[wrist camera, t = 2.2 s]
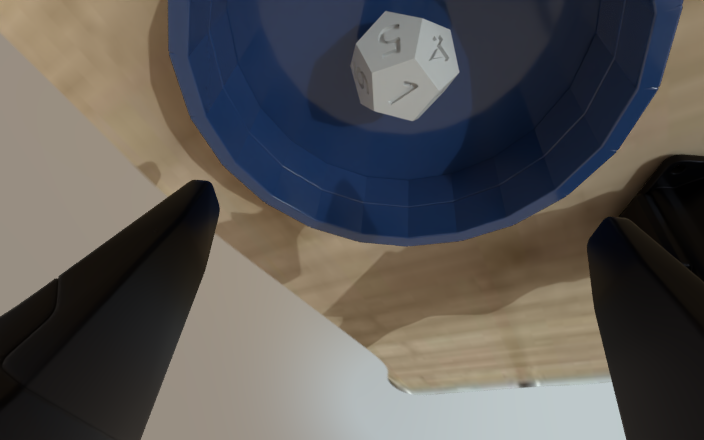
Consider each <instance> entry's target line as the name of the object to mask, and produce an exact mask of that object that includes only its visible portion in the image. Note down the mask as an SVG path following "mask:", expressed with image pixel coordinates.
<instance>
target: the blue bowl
mask: <svg viewBox="0 0 704 440" xmlns="http://www.w3.org/2000/svg"><path fill="white" fill-rule="evenodd" d="M682 4H683V0H168V51H169V56H170V59H171V62H172V65H173V68H174V71H175V74H176V77H177V80H178V83H179V86H180V89H181V92H182V95H183V98H184V101H185V104H186V107H187V110H188V113H189V115H190V118H191V120H192V121H193V123H194V124H195V126H196V127H197V129H198V130H199V131H200V133H201V134H202V136H203V137H204V139H205V140H206V142H207V143H208V145H209V146H210V148H211V149H212V150H213V152H214V153H215V155H216V156H217V158H218V159H219V161H220V162H221V164H222V165H223V166H224V167H225V168H226V169H227V170H228V171H229V172H230V173H232V174H233V175H234V176H235V177H236V178H237V179H238V180H240V181H241V182H242V183H243V184H244V185H245V186H246V187H247V188H249V189H250V190H251V191H252V192H253V193H254V194H255V195H256V196H258V197H259V198H260V199H261V200H262V201H263V202H265V203H266V204H268V205H270V206H272V207H274V208H275V209H277V210H279V211H281V212H283V213H285V214H286V215H288V216H290V217H292V218H294V219H296V220H297V221H299V222H301V223H303V224H305V225H307V226H308V227H311V228H314V229H317V230H321V231H324V232H327V233H331V234H334V235H337V236H341V237H344V238H347V239H351V240H354V241H358V242H364V243H375V244H385V245H396V246H407V247H408V246H418V245H428V244H438V243H448V242H458V241H463V240H467V239H470V238H473V237H477V236H480V235H483V234H486V233H490V232H493V231H496V230H500V229H503V228H506V227H509V226H513V224H514V225H515V224H517V223H519V222H520V221H522V220H524V219H526V218H528V217H530V216H531V215H533V214H535V213H537V212H539V211H541V210H542V209H544V208H546V207H548V206H550V205H551V204H553V203H555V202H557V201H559V200H561V199H562V198H564V197H566V195H569V194H570V193H571V192H572V191H573V190H574V189H575V188H576V187H578V186H579V185H580V184H581V183H582V182H583V181H584V180H585V179H587V178H588V177H589V176H590V175H591V174H592V173H593V172H594V171H596V170H597V169H598V168H599V167H600V166H601V165H602V164H603V163H605V162H606V161H607V160H608V159H609V158H610V157H611V156H612V155H614V154H615V153H616V151H617V150H618V149H619V148H620V146H621V145H622V143H623V142H624V140H625V139H626V137H627V136H628V134H629V133H630V131H631V130H632V128H633V127H634V125H635V124H636V122H637V121H638V119H639V118H640V116H641V115H642V113H643V112H644V110H645V109H646V107H647V106H648V104H649V103H650V101H651V100H652V98H653V97H654V95H655V94H656V92H657V91H658V87H659V86H660V84H661V81H662V77H663V74H664V70H665V67H666V63H667V60H668V56H669V53H670V49H671V46H672V42H673V39H674V36H675V32H676V29H677V25H678V22H679V18H680V15H681V11H682V8H683V6H682ZM385 11H388V12H393V13H398V14H403V15H408V16H413V17H418V18H423V19H425V20H428V21H430V22H433V23H435V24H438V25H440V26H442V27H445V28H447V29H450V30H451V35H452V40H453V44H454V49H455V54H456V58H457V63H458V68H459V73H458V75H457V76H456V77H455V78H454V80H453V81H452V82H451V84H450V85H449V86H448V87H447V89H446V90H445V91H444V92H443V93H442V94H441V95H440V96H439V97H438V98H437V99H436V101H435V102H434V103H433V104H432V105H431V106H430V107H429V108H428V109H427V110H426V111H425V112H424V113H423V114H422V115H421V116H420V117H419V118H418V119H416V120H414V121H410V120H406V119H402V118H398V117H394V116H391V115H387V114H383V113H379V112H375V111H373V110H371V109H369V108H367V107H366V106H364V105H362V104H361V103H360V99H359V96H358V92H357V88H356V85H355V81H354V77H353V74H352V70H351V66H350V65H351V61H352V57H353V53H354V49H355V45H356V43H357V42H358V41H359V40H360V38H361V37H362V36H363V35H364V34H365V33H366V32H367V31H368V30H369V29H370V27H371V26H372V25H373V24H374V23H375V22H376V21H377V20H378V19H379V18H380V16H381V15H382V14H383V13H384V12H385Z"/></svg>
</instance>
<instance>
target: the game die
mask: <svg viewBox="0 0 704 440" xmlns="http://www.w3.org/2000/svg"><path fill="white" fill-rule="evenodd" d="M350 66H351V70H352V74H353V77H354V81H355V85H356V88H357V92H358V96H359V99H360V103H361V104H362V105H364V106H366V107H367V108H369V109H371V110H373V111H375V112H379V113H383V114H387V115H391V116H394V117H398V118H402V119H406V120H410V121H414V120H416V119H418V118H419V117H420V116H421V115H422V114H423V113H424V112H425V111H426V110H427V109H428V108H429V107H430V106H431V105H432V104H433V103H434V102H435V101H436V99H437V98H438V97H439V96H440V95H441V94H442V93H443V92H444V91H445V90H446V89H447V87H448V86H449V85H450V84H451V82H452V81H453V80H454V78H455V77H456V76H457V75H458V73H459V68H458V63H457V58H456V54H455V49H454V44H453V40H452V35H451V30H450V29H447V28H445V27H442V26H440V25H438V24H435V23H433V22H430V21H428V20H425V19H423V18H418V17H413V16H408V15H403V14H398V13H393V12H388V11H385V12H384V13H383V14H382V15H381V16H380V18H379V19H378V20H377V21H376V22H375V23H374V24H373V25H372V26H371V27H370V29H369V30H368V31H367V32H366V33H365V34H364V35H363V36H362V37H361V38H360V40H359V41H358V42H357V43H356V45H355V49H354V53H353V57H352V61H351V65H350Z"/></svg>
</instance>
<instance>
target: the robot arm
mask: <svg viewBox="0 0 704 440" xmlns="http://www.w3.org/2000/svg"><path fill="white" fill-rule="evenodd" d="M678 165H679V166H678ZM676 166H677V167H676ZM674 167H675V168H674ZM219 212H220V208H219V203H218V200H217V197H216V194H215V191H214V188H213V185H212V184H211V182H209V181H203V180H192V181H190V182H188V183H187V184H186V185H184V186H183V187H181V188H180V189H179V190H177V191H176V192H175V193H173V194H172V195H170V196H169V197H168V198H166V199H165V200H163V201H162V202H161V203H160V204H158V205H157V206H155V207H154V208H152V209H151V210H150V211H148V212H147V213H145V214H144V215H143V216H141V217H140V218H139V219H137V220H136V221H134V222H133V223H132V224H130V225H129V226H127V227H126V228H125V229H123V230H122V231H121V232H119V233H118V234H116V235H115V236H114V237H112V238H111V239H110V240H108V241H107V242H105V243H104V244H103V245H101V246H100V247H99V248H97V249H96V250H94V251H93V252H91V253H90V254H89V255H87V256H86V257H85V258H83V259H82V260H80V261H79V262H78V263H76V264H75V265H73V266H72V267H71V268H69V269H68V270H67V271H65V272H64V273H62V274H61V275H60V276H59V278H58V279H54V280H53V281H51V282H50V283H48V284H47V285H46V286H44V287H43V288H41V289H40V290H39V291H37V292H36V293H34V294H33V295H32V296H30V297H29V298H27V299H26V300H24V301H23V302H21V303H20V304H19V305H17V306H16V307H14V308H13V309H11V310H10V311H8V312H7V313H5V314H4V315H2V316H0V440H141V437H142V435H143V432H144V429H145V426H146V424H147V421H148V419H149V416H150V414H151V411H152V408H153V406H154V403H155V401H156V398H157V395H158V393H159V390H160V387H161V385H162V382H163V380H164V377H165V374H166V372H167V369H168V366H169V364H170V361H171V359H172V355H173V353H174V351H175V348H176V345H177V343H178V340H179V338H180V335H181V332H182V330H183V327H184V324H185V322H186V319H187V317H188V314H189V311H190V309H191V306H192V304H193V301H194V298H195V295H196V293H197V290H198V288H199V285H200V283H201V280H202V277H203V274H204V272H205V269H206V265H207V261H208V257H209V253H210V249H211V245H212V241H213V237H214V233H215V229H216V225H217V221H218V217H219ZM587 253H588V262H589V270H590V279H591V287H592V296H593V303H594V309H595V314H596V318H597V322H598V326H599V330H600V334H601V338H602V343H603V347H604V351H605V355H606V359H607V363H608V367H609V371H610V375H611V379H612V383H613V387H614V391H615V395H616V399H617V403H618V407H619V412H620V415H621V420H622V424H623V427H624V432H625V436H626V440H704V156H695V155H682V154H681V155H674V156H671V157H669V158H667V159H666V160H665V161H664V162H662V164H661V165H660V166H659V167H658V169H657V170H656V171H655V172H654V174H653V175H652V176H651V178H650V179H649V180H648V181H647V183H646V184H645V185H644V186H643V188H642V189H641V190H640V191H639V193H638V194H637V195H636V196H635V198H634V199H633V200H632V201H631V203H630V204H629V205H628V206H627V208H626V209H625V210H624V211H623V213H622V214H621V215H620V217H607V218H605V219H604V220H603V221H602V223H601V224H600V225H599V227H598V228H597V229H596V231H595V232H594V233H593V235H592V236H591V237H590V239H589V241H588V244H587Z"/></svg>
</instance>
